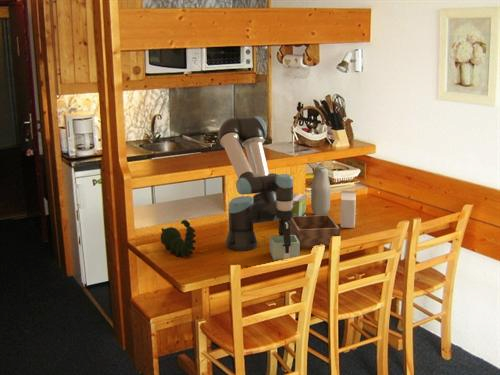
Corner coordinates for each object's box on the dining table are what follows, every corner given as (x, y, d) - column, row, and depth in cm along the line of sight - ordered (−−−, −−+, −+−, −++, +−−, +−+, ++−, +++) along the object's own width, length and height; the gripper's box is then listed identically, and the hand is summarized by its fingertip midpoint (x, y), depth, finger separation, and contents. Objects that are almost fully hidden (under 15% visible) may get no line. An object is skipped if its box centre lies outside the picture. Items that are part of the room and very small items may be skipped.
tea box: (299, 228, 341) (299, 200, 338) (280, 226, 344) (280, 199, 341) (306, 220, 355) (306, 193, 351) (288, 218, 358) (288, 192, 354)
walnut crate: (298, 248, 312) (298, 230, 309) (289, 233, 333) (289, 216, 331) (339, 246, 314) (339, 228, 312) (328, 231, 335) (329, 214, 333)
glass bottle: (316, 212, 369) (317, 163, 362) (333, 214, 363) (334, 165, 356) (307, 216, 361) (308, 166, 354) (324, 219, 355) (324, 168, 348)
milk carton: (354, 228, 340) (355, 192, 335) (340, 227, 341) (341, 192, 337) (354, 224, 347) (355, 189, 342) (341, 223, 348) (342, 188, 343)
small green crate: (273, 260, 296) (273, 244, 294) (269, 252, 307) (269, 236, 305) (299, 259, 297) (299, 242, 295) (295, 251, 308) (295, 234, 306)
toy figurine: (200, 260, 303) (169, 242, 321) (201, 221, 297) (170, 205, 315) (183, 265, 297) (153, 246, 315) (183, 226, 291) (153, 209, 309)
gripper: (297, 215, 286) (297, 263, 291) (288, 201, 308) (288, 245, 314) (280, 216, 285) (280, 264, 290) (272, 202, 307) (272, 246, 313)
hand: (284, 254), depth 302 cm, fingers open, 11 cm apart
